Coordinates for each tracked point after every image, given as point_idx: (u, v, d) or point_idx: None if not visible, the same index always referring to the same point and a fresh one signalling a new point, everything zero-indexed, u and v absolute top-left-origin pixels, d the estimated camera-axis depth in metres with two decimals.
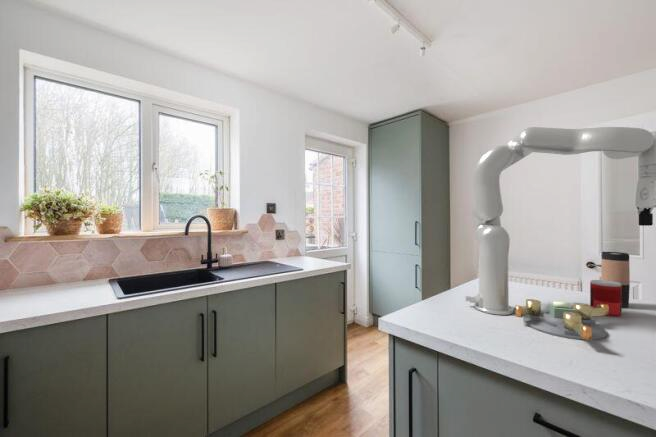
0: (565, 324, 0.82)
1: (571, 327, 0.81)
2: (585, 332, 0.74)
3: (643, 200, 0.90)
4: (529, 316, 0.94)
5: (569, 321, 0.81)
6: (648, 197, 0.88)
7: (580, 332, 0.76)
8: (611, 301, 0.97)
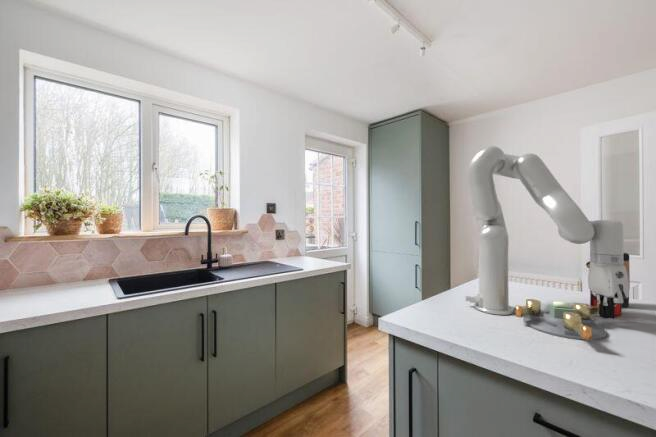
0: (565, 324, 0.82)
1: (571, 327, 0.81)
2: (585, 332, 0.74)
3: None
4: (529, 316, 0.94)
5: (569, 321, 0.81)
6: None
7: (580, 332, 0.76)
8: None
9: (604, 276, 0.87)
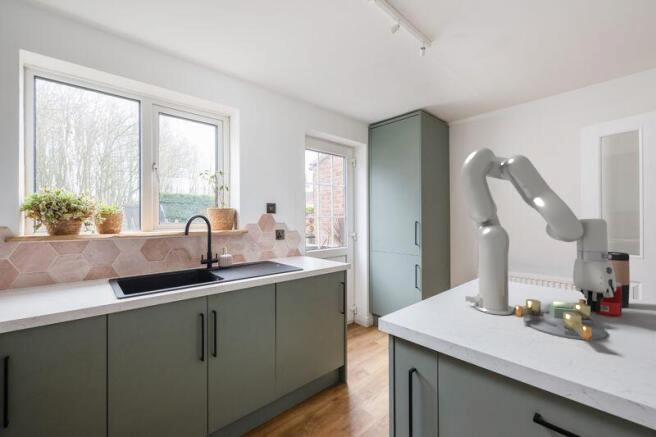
0: (565, 324, 0.82)
1: (571, 327, 0.81)
2: (585, 332, 0.74)
3: None
4: (529, 316, 0.94)
5: (569, 321, 0.81)
6: None
7: (580, 332, 0.76)
8: (611, 301, 0.97)
9: (595, 272, 0.91)
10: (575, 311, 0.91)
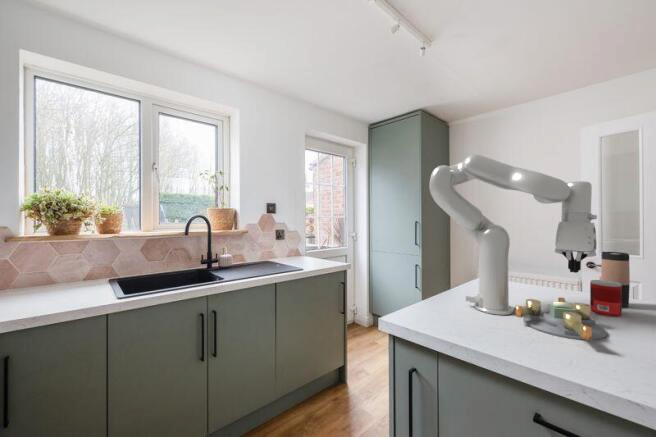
0: (565, 324, 0.82)
1: (571, 327, 0.81)
2: (585, 332, 0.74)
3: None
4: (529, 316, 0.94)
5: (569, 321, 0.81)
6: None
7: (580, 332, 0.76)
8: (611, 301, 0.97)
9: (583, 233, 0.93)
10: (580, 312, 0.89)
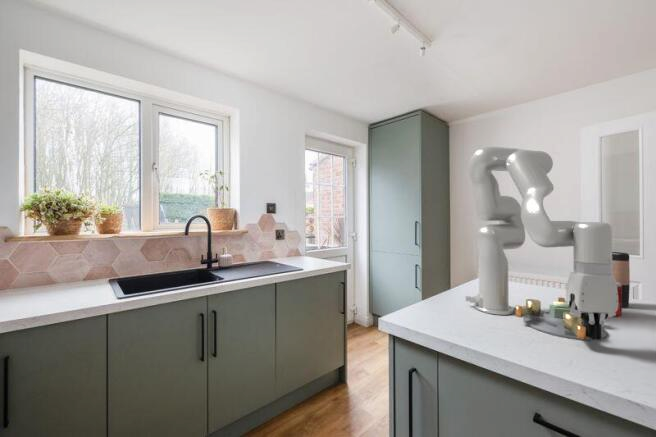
0: (564, 324, 0.83)
1: (570, 327, 0.81)
2: (579, 331, 0.74)
3: None
4: (529, 316, 0.94)
5: (568, 321, 0.81)
6: None
7: (576, 331, 0.77)
8: None
9: (610, 289, 0.73)
10: None
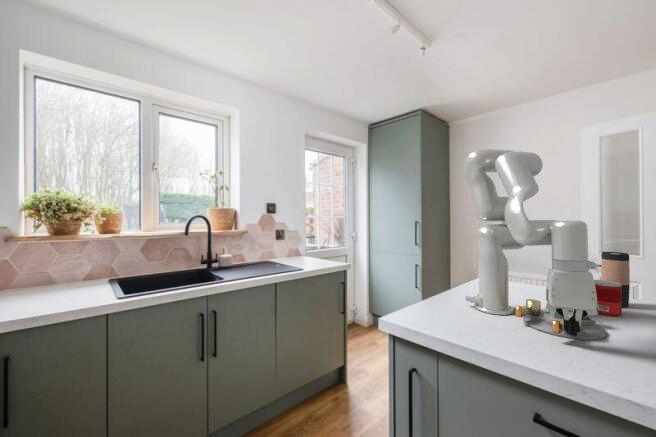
0: None
1: None
2: (552, 325, 0.79)
3: None
4: (529, 316, 0.94)
5: None
6: None
7: None
8: (611, 301, 0.97)
9: (585, 286, 0.74)
10: None
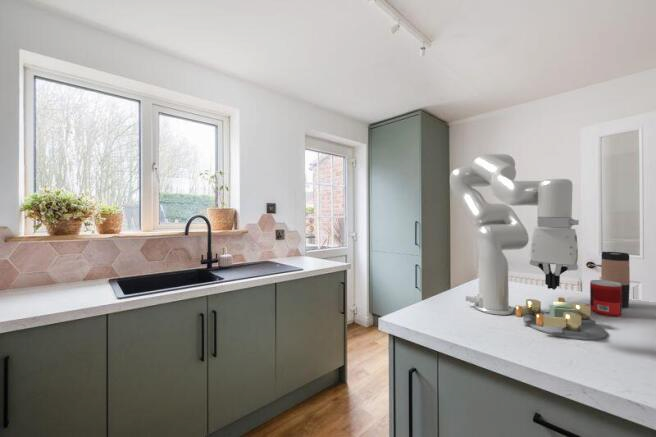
0: None
1: None
2: None
3: None
4: (529, 316, 0.94)
5: None
6: None
7: None
8: (611, 301, 0.97)
9: (563, 242, 0.76)
10: (580, 312, 0.89)
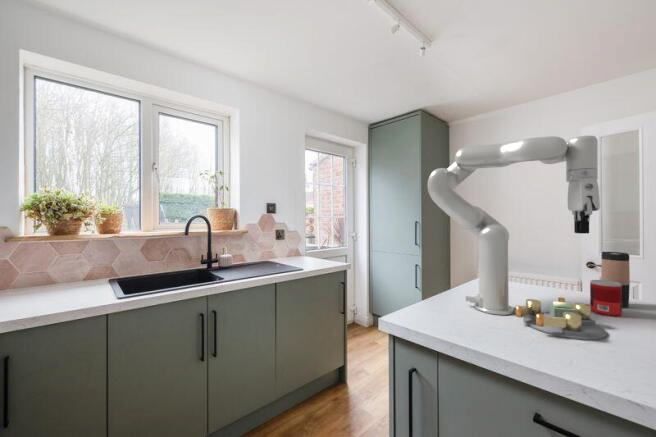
0: None
1: None
2: None
3: None
4: (529, 316, 0.94)
5: None
6: None
7: None
8: (611, 301, 0.97)
9: (576, 190, 0.89)
10: (580, 312, 0.89)
